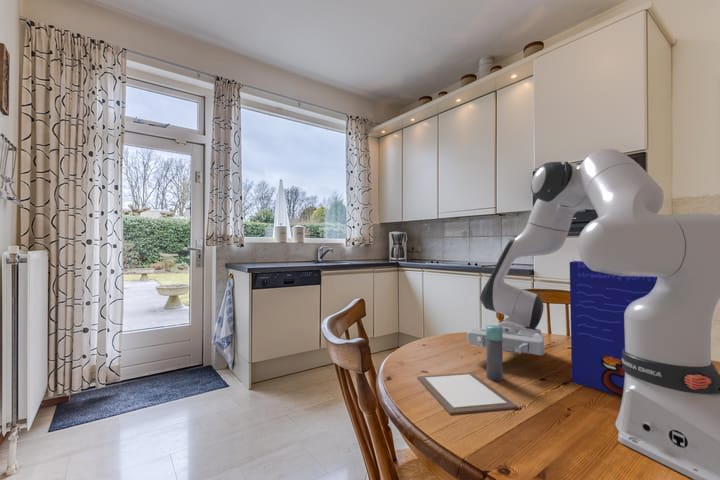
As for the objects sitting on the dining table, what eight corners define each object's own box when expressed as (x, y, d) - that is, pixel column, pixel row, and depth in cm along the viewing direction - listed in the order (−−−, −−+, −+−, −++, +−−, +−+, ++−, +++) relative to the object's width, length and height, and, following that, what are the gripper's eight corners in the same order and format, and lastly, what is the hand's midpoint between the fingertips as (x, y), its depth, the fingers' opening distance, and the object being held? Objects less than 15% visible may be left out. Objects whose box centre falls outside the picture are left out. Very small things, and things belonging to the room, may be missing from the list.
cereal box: (701, 409, 68) (697, 263, 69) (695, 417, 65) (690, 264, 65) (581, 376, 86) (579, 260, 86) (571, 382, 82) (569, 261, 83)
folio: (517, 408, 68) (517, 405, 69) (450, 414, 66) (450, 411, 66) (471, 374, 87) (471, 371, 87) (417, 378, 85) (417, 375, 85)
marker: (506, 380, 83) (505, 328, 83) (492, 381, 82) (491, 329, 83) (497, 374, 87) (496, 324, 87) (483, 375, 86) (482, 325, 87)
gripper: (473, 321, 105) (459, 330, 94) (547, 330, 93) (540, 341, 82) (473, 341, 105) (459, 352, 94) (547, 352, 93) (541, 366, 82)
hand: (498, 347), depth 88 cm, fingers open, 8 cm apart
